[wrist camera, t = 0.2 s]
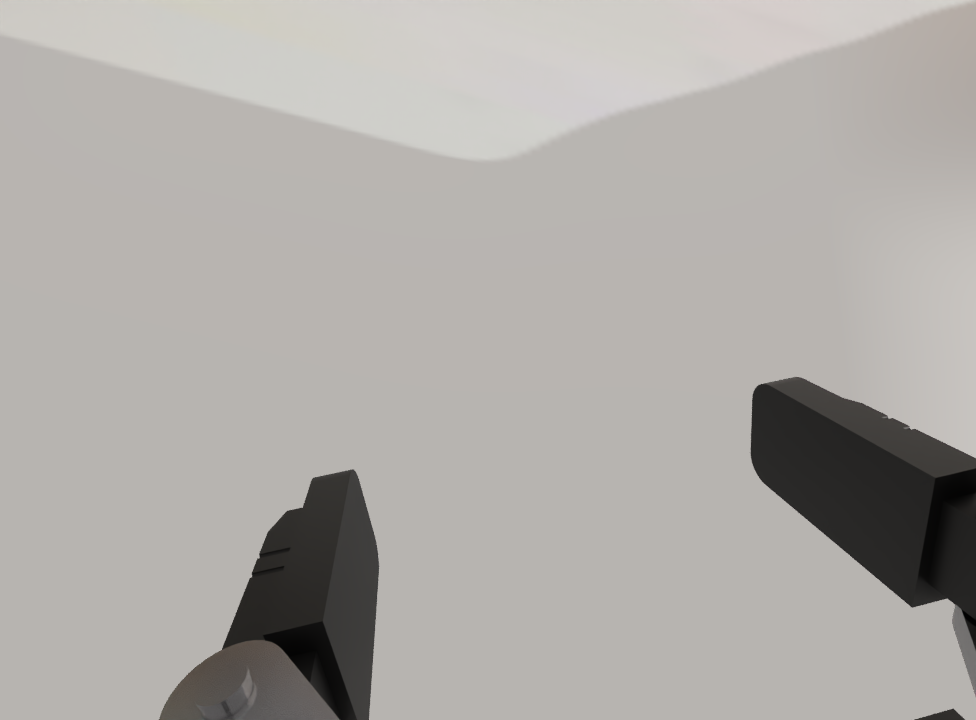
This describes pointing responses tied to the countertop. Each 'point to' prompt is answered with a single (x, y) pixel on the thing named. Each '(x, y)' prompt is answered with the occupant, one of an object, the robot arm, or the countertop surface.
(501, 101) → the countertop surface
